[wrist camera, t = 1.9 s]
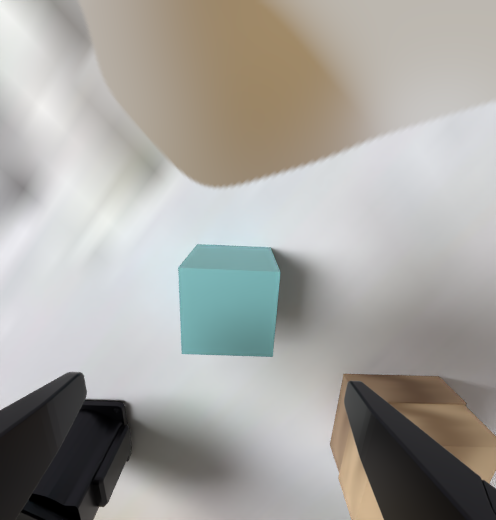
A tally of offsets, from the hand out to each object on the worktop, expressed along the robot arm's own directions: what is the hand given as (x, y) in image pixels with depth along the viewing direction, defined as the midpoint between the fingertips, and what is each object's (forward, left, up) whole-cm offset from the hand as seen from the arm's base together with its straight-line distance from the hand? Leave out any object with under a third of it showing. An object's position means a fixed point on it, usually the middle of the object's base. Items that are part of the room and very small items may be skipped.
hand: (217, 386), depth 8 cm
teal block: (0, 0, -10) cm, 10 cm away
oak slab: (+13, -12, -7) cm, 19 cm away
